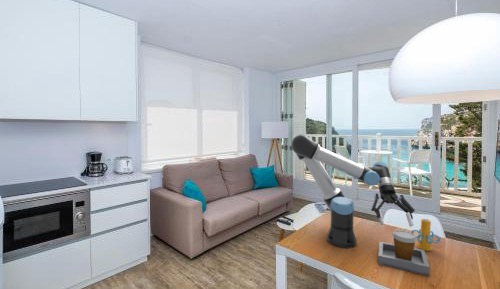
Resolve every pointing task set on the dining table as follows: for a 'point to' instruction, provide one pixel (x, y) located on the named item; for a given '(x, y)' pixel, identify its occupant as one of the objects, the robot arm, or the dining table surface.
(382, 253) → the grey tray
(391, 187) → the robot arm
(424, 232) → the yellow post with rings
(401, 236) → the disposable coffee cup
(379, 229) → the dining table surface
